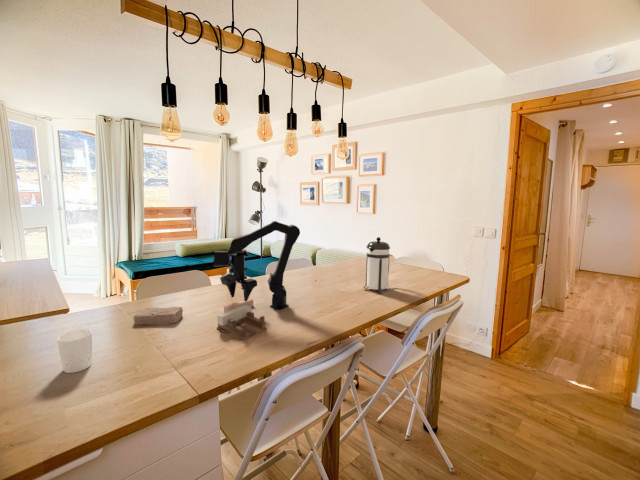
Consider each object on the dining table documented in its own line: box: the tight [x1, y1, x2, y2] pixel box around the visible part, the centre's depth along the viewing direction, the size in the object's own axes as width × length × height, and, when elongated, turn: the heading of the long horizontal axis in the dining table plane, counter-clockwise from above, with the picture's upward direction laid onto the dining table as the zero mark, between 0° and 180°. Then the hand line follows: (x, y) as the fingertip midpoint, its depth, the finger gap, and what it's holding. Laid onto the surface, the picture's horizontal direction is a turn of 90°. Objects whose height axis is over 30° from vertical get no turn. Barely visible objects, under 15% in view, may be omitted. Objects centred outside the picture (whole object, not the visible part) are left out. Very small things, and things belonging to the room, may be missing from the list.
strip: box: [216, 305, 252, 326], centre depth 120 cm, size 14×3×4 cm, turn 144°
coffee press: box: [363, 237, 391, 294], centre depth 171 cm, size 17×16×30 cm
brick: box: [133, 306, 184, 325], centre depth 125 cm, size 17×8×5 cm, turn 96°
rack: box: [216, 311, 267, 341], centre depth 118 cm, size 12×15×5 cm
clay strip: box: [223, 298, 254, 313], centre depth 139 cm, size 14×3×4 cm, turn 142°
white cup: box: [56, 329, 93, 374], centre depth 90 cm, size 8×8×10 cm
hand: (239, 299), depth 138 cm, fingers open, 9 cm apart
